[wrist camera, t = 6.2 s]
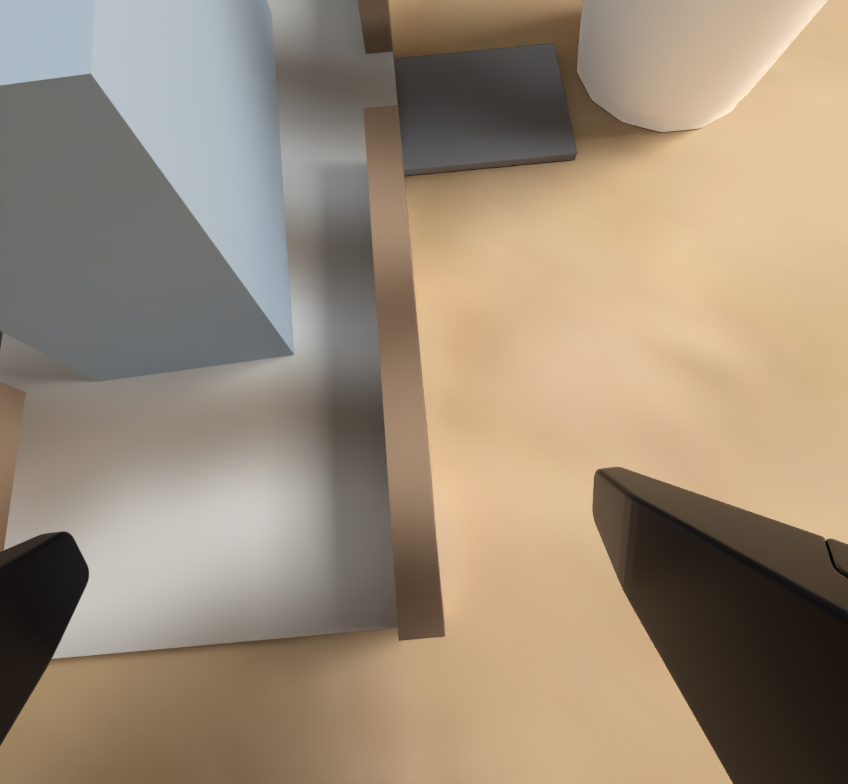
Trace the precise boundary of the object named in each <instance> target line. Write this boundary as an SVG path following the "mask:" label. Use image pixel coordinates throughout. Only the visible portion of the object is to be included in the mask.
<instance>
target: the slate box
mask: <svg viewBox="0 0 848 784" xmlns="http://www.w3.org/2000/svg"><path fill="white" fill-rule="evenodd" d="M0 331H1V332H3V333H5V334H7V335H9V336H11V337H13V338H15V339H17V340H18V341H20V342H22V343H24V344H26V345H28V346H30V347H32V348H34V349H36V350H38V351H40V352H42V353H44V354H46V355H47V356H49V357H51V358H53V359H55V360H57V361H59V362H61V363H63V364H65V365H67V366H69V367H71V368H73V369H75V370H76V371H78V372H80V373H82V374H84V375H86V376H88V377H90V378H92V379H94V380H96V381H98V382H99V381H107V380H114V379H121V378H129V377H136V376H143V375H151V374H158V373H165V372H172V371H180V370H187V369H194V368H202V367H209V366H216V365H224V364H231V363H238V362H246V361H253V360H260V359H268V358H275V357H282V356H290V355H294V342H293V327H292V312H291V296H290V281H289V266H288V251H287V236H286V221H285V206H284V190H283V175H282V160H281V145H280V130H279V115H278V99H277V84H276V69H275V54H274V39H273V24H272V13H271V10H270V7H269V4H268V1H267V0H0Z"/></svg>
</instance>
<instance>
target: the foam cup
mask: <svg viewBox="0 0 848 784" xmlns="http://www.w3.org/2000/svg"><path fill="white" fill-rule="evenodd" d="M827 1H828V0H583V6H582V15H581V23H580V36H579V44H578V59H577V73H578V75H579V77H580V79H581V81H582V83H583V84H584V86H585V88H586V90H587V92H588V94H589V96H590V98H591V100H592V101H594V102H595V103H596V104H598V105H599V106H601V107H602V108H603V109H605V110H606V111H607V112H609V113H610V114H612V115H613V116H614V117H616V118H617V119H618V120H620V121H621V122H624V123H627V124H631V125H635V126H639V127H643V128H646V129H650V130H654V131H658V132H670V131H680V130H690V129H700V128H703V127H705V126H706V125H708V124H710V123H712V122H714V121H715V120H717V119H719V118H721V117H723V116H724V115H726V114H728V113H730V112H732V111H733V109H734V108H735V106H736V105H737V103H738V102H739V101H740V100H741V99H743V98H745V97H746V95H747V94H748V93H749V92H750V91H751V90H752V88H753V87H754V86H755V85H756V84H757V82H758V81H759V80H760V79H761V78H762V77H763V75H764V74H765V73H766V72H767V71H768V70H769V68H770V67H771V66H772V65H773V64H774V63H775V61H776V60H777V59H778V58H779V57H780V56H781V54H782V53H783V52H784V51H785V50H786V49H787V47H788V46H789V45H790V44H791V43H792V42H793V40H794V39H795V38H796V37H797V36H798V35H799V33H800V32H801V31H802V30H803V29H804V28H805V26H806V25H807V24H808V23H809V22H810V21H811V19H812V18H813V17H814V16H815V15H816V14H817V12H818V11H819V10H820V9H821V8H822V6H823V5H824V4H825V3H826V2H827Z"/></svg>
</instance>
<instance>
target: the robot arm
mask: <svg viewBox="0 0 848 784" xmlns="http://www.w3.org/2000/svg"><path fill="white" fill-rule="evenodd" d="M593 517H594V521H595V524H596V526H597V529H598V531H599V534H600V536H601V538H602V541H603V543H604V546H605V548H606V551H607V553H608V555H609V558H610V560H611V563H612V565H613V568H614V570H615V572H616V575H617V577H618V580H619V582H620V584H621V586H622V589H623V591H624V593H625V594H626V596H627V598H628V600H629V602H630V604H631V605H632V607H633V609H634V611H635V612H636V614H637V616H638V618H639V619H640V621H641V623H642V625H643V626H644V628H645V630H646V632H647V633H648V635H649V637H650V639H651V641H652V642H653V644H654V646H655V648H656V649H657V651H658V653H659V655H660V656H661V658H662V660H663V662H664V663H665V665H666V667H667V669H668V670H669V672H670V674H671V676H672V677H673V679H674V681H675V683H676V684H677V686H678V688H679V690H680V691H681V693H682V695H683V697H684V698H685V700H686V702H687V704H688V705H689V707H690V709H691V711H692V712H693V714H694V716H695V718H696V719H697V721H698V723H699V725H700V726H701V728H702V730H703V732H704V733H705V735H706V737H707V739H708V740H709V742H710V744H711V746H712V747H713V749H714V751H715V753H716V754H717V756H718V758H719V760H720V761H721V763H722V765H723V767H724V768H725V770H726V772H727V774H728V776H729V777H730V779H731V781H732V783H733V784H848V544H845V543H842V542H839V541H837V540H834V539H827V540H826V541H825V538H824V537H822V536H819V535H816V534H813V533H810V532H807V531H805V530H802V529H799V528H796V527H793V526H790V525H787V524H784V523H781V522H778V521H775V520H773V519H770V518H767V517H764V516H761V515H758V514H755V513H752V512H749V511H746V510H743V509H741V508H738V507H735V506H732V505H729V504H726V503H723V502H720V501H717V500H714V499H711V498H709V497H706V496H703V495H700V494H697V493H694V492H691V491H688V490H685V489H682V488H679V487H677V486H674V485H671V484H668V483H665V482H662V481H659V480H656V479H653V478H650V477H647V476H645V475H642V474H639V473H636V472H633V471H630V470H627V469H624V468H621V467H611V468H603V469H598V470H597V471H596V472H595V475H594V488H593ZM88 580H89V568H88V565H87V563H86V561H85V559H84V557H83V555H82V553H81V551H80V549H79V547H78V545H77V543H76V541H75V539H74V537H73V536H72V535H71V534H70V533H68V532H66V531H61V532H52V533H45V534H41V535H38V536H36V537H34V538H31V539H29V540H27V541H24V542H22V543H20V544H17V545H15V546H13V547H10V548H8V549H6V550H3V551H1V552H0V745H1V744H2V742H3V740H4V739H5V737H6V735H7V734H8V732H9V730H10V729H11V727H12V725H13V724H14V722H15V720H16V719H17V717H18V715H19V714H20V712H21V710H22V709H23V707H24V705H25V703H26V702H27V700H28V698H29V697H30V695H31V693H32V692H33V690H34V688H35V687H36V685H37V683H38V682H39V680H40V678H41V677H42V675H43V673H44V672H45V670H46V668H47V666H48V665H49V663H50V661H51V659H52V657H53V655H54V653H55V651H56V649H57V647H58V645H59V643H60V641H61V639H62V637H63V635H64V633H65V630H66V628H67V626H68V624H69V622H70V620H71V618H72V616H73V613H74V611H75V609H76V607H77V605H78V603H79V601H80V599H81V596H82V594H83V592H84V590H85V588H86V586H87V583H88Z"/></svg>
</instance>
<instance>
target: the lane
mask: <svg viewBox="0 0 848 784" xmlns="http://www.w3.org/2000/svg"><path fill="white" fill-rule="evenodd" d="M267 1H268V4H269V7H270V10H271V13H272V24H273V39H274V54H275V69H276V84H277V99H278V115H279V130H280V145H281V160H282V175H283V190H284V206H285V221H286V236H287V251H288V266H289V281H290V296H291V312H292V327H293V342H294V355H290V356H282V357H275V358H268V359H260V360H253V361H246V362H238V363H231V364H224V365H216V366H209V367H202V368H194V369H187V370H180V371H172V372H165V373H158V374H151V375H143V376H136V377H129V378H121V379H114V380H107V381H99V382H98V381H96V380H94V379H92V378H90V377H88V376H86V375H84V374H82V373H80V372H78V371H76V370H75V369H73V368H71V367H69V366H67V365H65V364H63V363H61V362H59V361H57V360H55V359H53V358H51V357H49V356H47V355H46V354H44V353H42V352H40V351H38V350H36V349H34V348H32V347H30V346H28V345H26V344H24V343H22V342H20V341H18V340H17V339H15V338H13V337H11V336H9V335H7V334H5V333H3V332H1V331H0V552H1V551H3V550H6V549H8V548H10V547H13V546H15V545H17V544H20V543H22V542H24V541H27V540H29V539H31V538H34V537H36V536H38V535H41V534H45V533H52V532H61V531H66V532H68V533H70V534H71V535H72V536H73V537H74V539H75V541H76V543H77V545H78V547H79V549H80V551H81V553H82V555H83V557H84V559H85V561H86V563H87V565H88V568H89V580H88V583H87V586H86V588H85V590H84V592H83V594H82V596H81V599H80V601H79V603H78V605H77V607H76V609H75V611H74V613H73V616H72V618H71V620H70V622H69V624H68V626H67V628H66V630H65V633H64V635H63V637H62V639H61V641H60V643H59V645H58V647H57V649H56V651H55V653H54V655H53V657H52V659H56V658H67V657H79V656H90V655H101V654H112V653H123V652H134V651H145V650H156V649H168V648H179V647H190V646H201V645H212V644H223V643H234V642H245V641H257V640H268V639H279V638H290V637H301V636H312V635H323V634H334V633H346V632H357V631H368V630H379V629H390V628H398V636H399V641H400V640H411V639H422V638H433V637H444V636H445V624H444V611H443V600H442V589H441V578H440V567H439V555H438V544H437V533H436V522H435V511H434V500H433V489H432V478H431V467H430V456H429V445H428V434H427V423H426V412H425V401H424V390H423V379H422V368H421V357H420V345H419V334H418V323H417V312H416V301H415V290H414V279H413V268H412V257H411V246H410V235H409V224H408V213H407V202H406V191H405V180H404V176H407V175H417V174H428V173H438V172H449V171H459V170H470V169H480V168H491V167H501V166H512V165H522V164H533V163H543V162H554V161H564V160H575V158H576V155H577V151H576V146H575V142H574V137H573V132H572V127H571V122H570V117H569V113H568V108H567V103H566V98H565V93H564V88H563V84H562V79H561V74H560V69H559V64H558V60H557V55H556V50H555V45H554V43H550V44H540V45H529V46H519V47H509V48H498V49H488V50H477V51H467V52H457V53H446V54H436V55H426V56H415V57H405V58H395V59H394V58H393V47H392V36H391V25H390V14H389V3H388V0H267Z"/></svg>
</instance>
